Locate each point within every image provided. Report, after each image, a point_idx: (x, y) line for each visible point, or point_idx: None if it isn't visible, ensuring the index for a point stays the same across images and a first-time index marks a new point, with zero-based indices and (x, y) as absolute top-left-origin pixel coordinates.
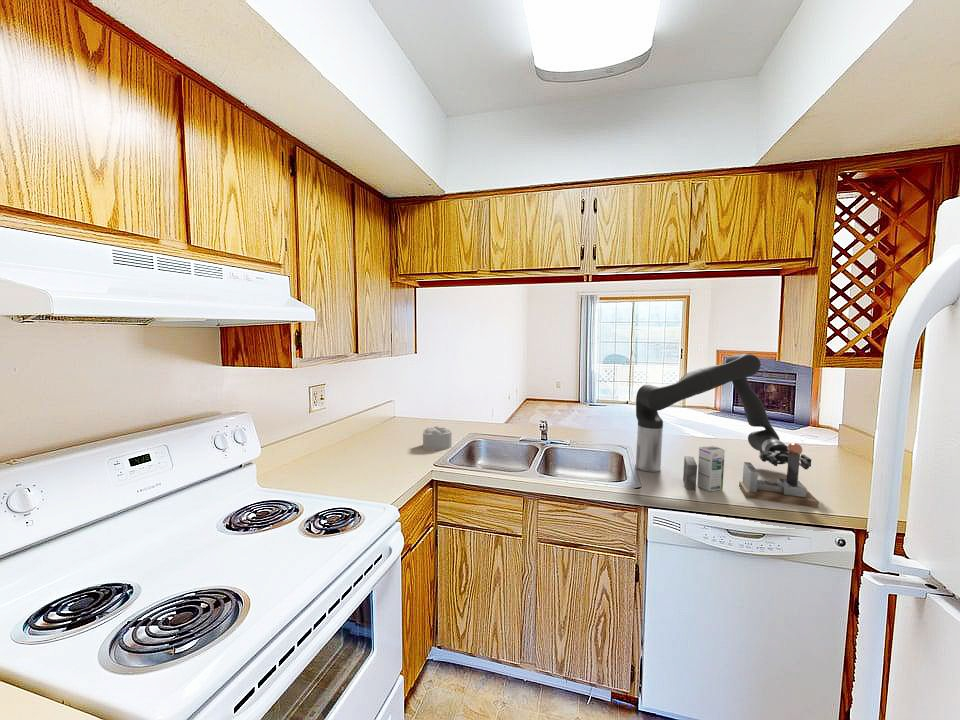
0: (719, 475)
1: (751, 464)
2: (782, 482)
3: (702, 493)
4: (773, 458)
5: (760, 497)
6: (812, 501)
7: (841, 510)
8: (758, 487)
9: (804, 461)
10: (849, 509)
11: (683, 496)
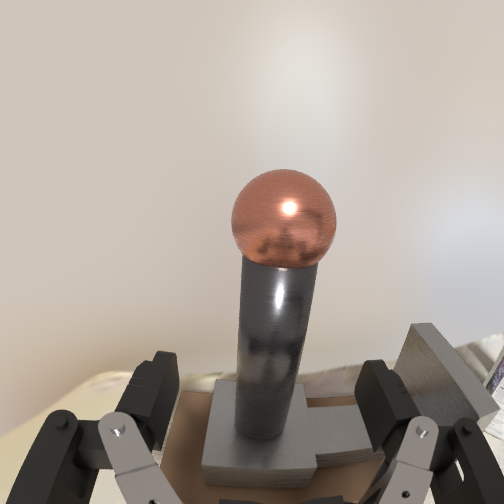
0: (494, 369)
1: (465, 392)
2: (304, 417)
3: (479, 376)
4: (396, 387)
5: None
6: (202, 394)
7: (116, 397)
8: None
9: (154, 379)
10: (84, 403)
11: (487, 347)
